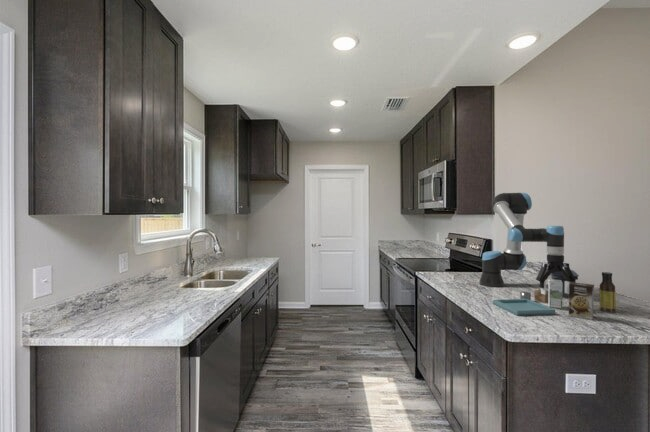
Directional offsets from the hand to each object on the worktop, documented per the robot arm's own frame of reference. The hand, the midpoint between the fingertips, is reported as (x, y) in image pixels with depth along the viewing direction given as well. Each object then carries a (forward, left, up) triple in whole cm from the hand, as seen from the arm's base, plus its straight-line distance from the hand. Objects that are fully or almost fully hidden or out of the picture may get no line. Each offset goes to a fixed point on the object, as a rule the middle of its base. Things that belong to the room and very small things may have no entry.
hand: (555, 293), depth 171 cm
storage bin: (-23, +23, -7) cm, 34 cm away
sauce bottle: (+9, +21, -7) cm, 24 cm away
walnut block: (-11, +2, -7) cm, 14 cm away
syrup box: (0, 0, -7) cm, 7 cm away
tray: (+2, -20, -7) cm, 21 cm away
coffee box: (+16, 0, -7) cm, 17 cm away
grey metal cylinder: (-12, -8, -7) cm, 16 cm away
